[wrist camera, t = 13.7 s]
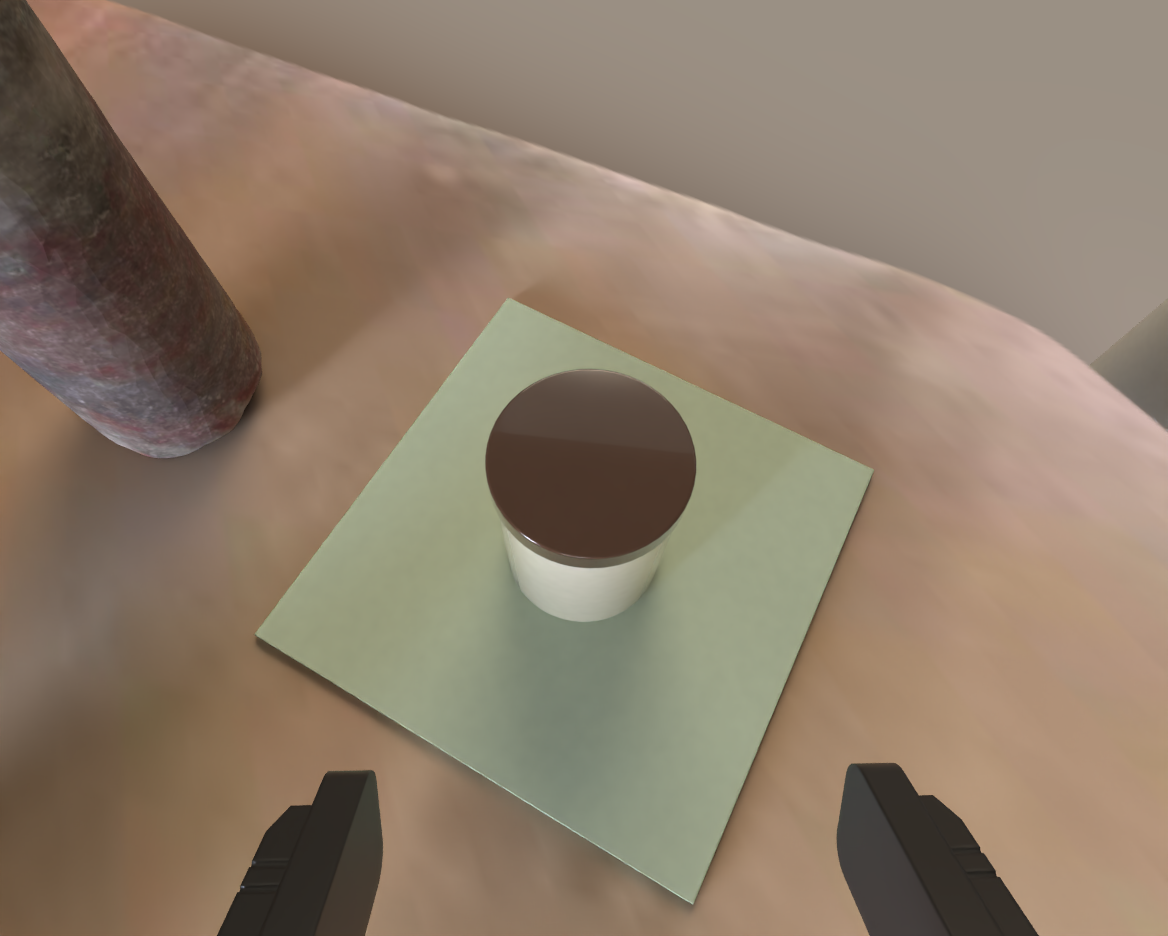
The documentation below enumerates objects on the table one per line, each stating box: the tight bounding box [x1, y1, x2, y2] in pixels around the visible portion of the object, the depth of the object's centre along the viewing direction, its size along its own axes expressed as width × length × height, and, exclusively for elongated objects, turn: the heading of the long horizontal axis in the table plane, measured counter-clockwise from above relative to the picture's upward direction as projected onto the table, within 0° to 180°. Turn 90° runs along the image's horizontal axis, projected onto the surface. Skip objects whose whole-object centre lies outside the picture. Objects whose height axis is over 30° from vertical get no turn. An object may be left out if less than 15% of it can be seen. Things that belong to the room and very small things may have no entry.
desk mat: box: [255, 298, 874, 904], centre depth 29 cm, size 18×18×1 cm
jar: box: [485, 369, 697, 622], centre depth 25 cm, size 6×6×8 cm
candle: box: [0, 0, 262, 458], centre depth 23 cm, size 8×7×20 cm
